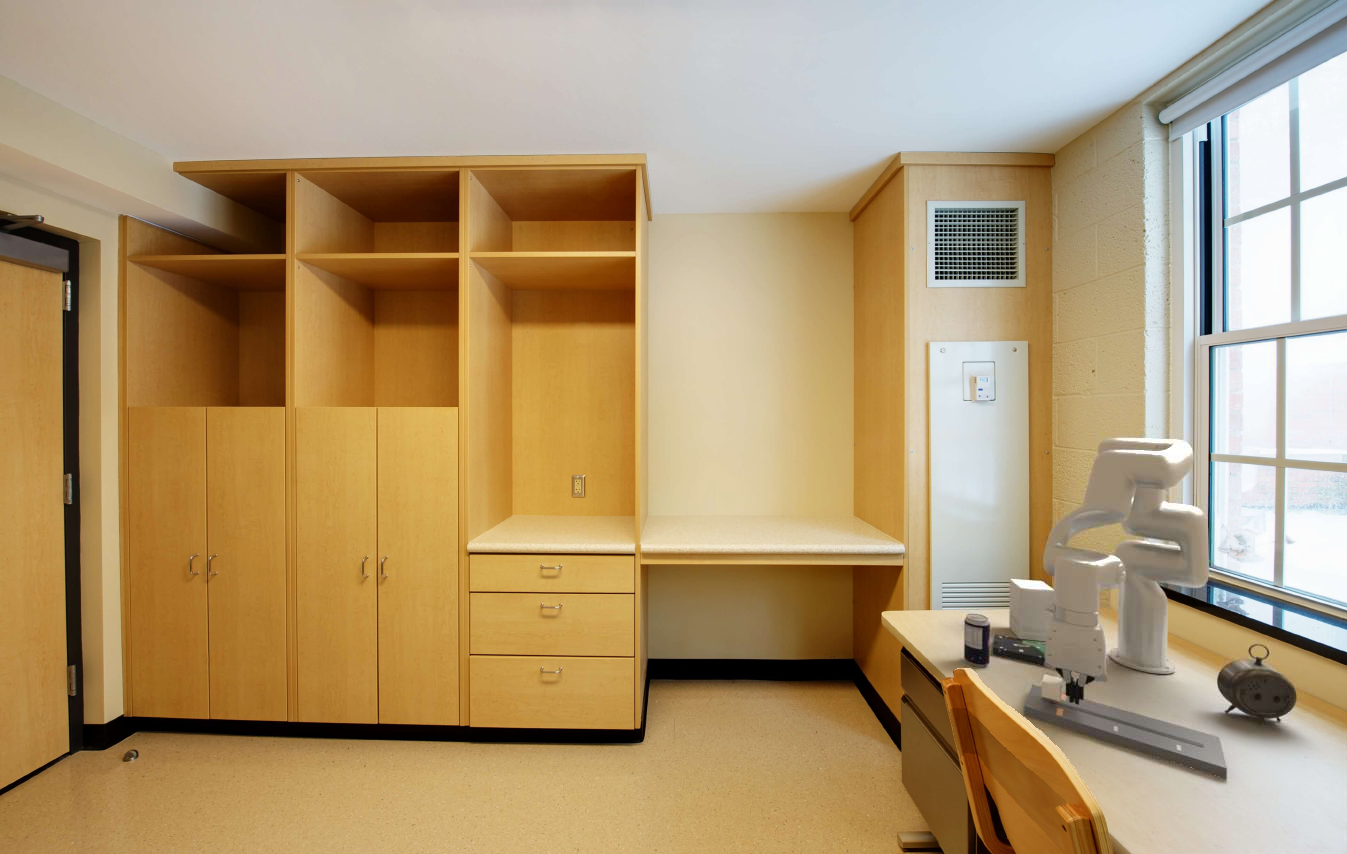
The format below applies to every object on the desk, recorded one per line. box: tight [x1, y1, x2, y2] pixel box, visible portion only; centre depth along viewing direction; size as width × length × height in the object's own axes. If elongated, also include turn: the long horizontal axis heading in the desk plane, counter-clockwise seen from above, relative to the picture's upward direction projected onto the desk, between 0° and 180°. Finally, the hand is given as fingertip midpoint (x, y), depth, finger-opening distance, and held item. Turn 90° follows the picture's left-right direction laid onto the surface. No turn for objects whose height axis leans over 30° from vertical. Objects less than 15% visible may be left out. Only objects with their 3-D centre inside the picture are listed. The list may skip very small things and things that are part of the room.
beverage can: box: [963, 613, 991, 668], centre depth 136 cm, size 6×6×12 cm
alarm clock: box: [1216, 643, 1297, 726], centre depth 110 cm, size 11×5×16 cm, turn 71°
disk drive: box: [992, 633, 1047, 668], centre depth 140 cm, size 10×3×15 cm
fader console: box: [1023, 683, 1228, 780], centre depth 107 cm, size 12×30×2 cm, turn 48°
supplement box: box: [1008, 578, 1054, 642], centre depth 153 cm, size 9×9×15 cm
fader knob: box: [1041, 673, 1063, 702], centre depth 114 cm, size 4×3×4 cm
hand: (1074, 700), depth 111 cm, fingers closed
